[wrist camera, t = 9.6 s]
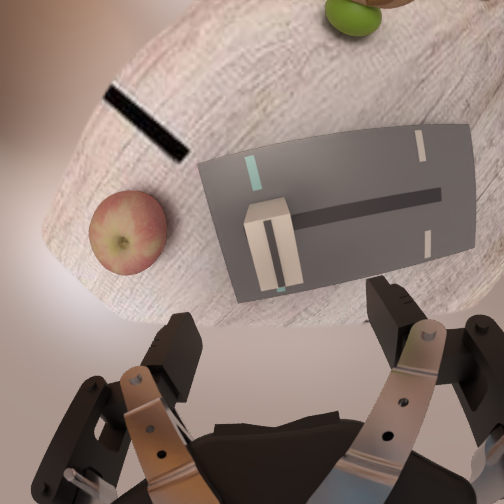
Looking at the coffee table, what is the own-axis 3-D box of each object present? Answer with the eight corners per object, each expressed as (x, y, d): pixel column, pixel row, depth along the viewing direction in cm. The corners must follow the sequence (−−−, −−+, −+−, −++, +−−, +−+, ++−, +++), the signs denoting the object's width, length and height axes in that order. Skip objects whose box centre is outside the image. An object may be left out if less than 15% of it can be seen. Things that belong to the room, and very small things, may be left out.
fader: (284, 196, 22) (290, 214, 17) (295, 251, 24) (303, 284, 18) (249, 204, 23) (243, 224, 17) (262, 258, 25) (261, 292, 19)
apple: (163, 265, 29) (134, 303, 22) (108, 235, 28) (68, 262, 21) (190, 203, 27) (162, 225, 19) (129, 172, 26) (85, 184, 18)
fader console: (453, 124, 21) (469, 124, 18) (460, 239, 26) (475, 248, 23) (204, 162, 25) (196, 164, 22) (240, 288, 30) (237, 303, 27)
